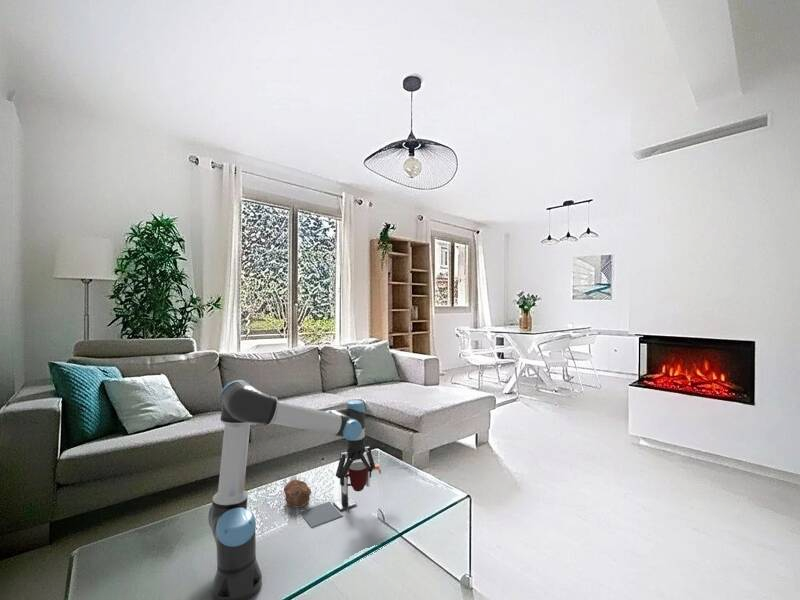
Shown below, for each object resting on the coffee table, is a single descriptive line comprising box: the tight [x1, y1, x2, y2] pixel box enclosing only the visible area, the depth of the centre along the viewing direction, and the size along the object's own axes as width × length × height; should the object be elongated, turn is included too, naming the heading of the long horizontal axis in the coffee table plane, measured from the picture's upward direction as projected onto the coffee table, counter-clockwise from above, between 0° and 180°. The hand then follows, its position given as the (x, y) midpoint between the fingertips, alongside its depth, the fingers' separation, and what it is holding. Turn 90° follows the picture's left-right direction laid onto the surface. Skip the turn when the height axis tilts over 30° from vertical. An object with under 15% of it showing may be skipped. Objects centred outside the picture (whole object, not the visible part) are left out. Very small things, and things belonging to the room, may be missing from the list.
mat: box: [299, 501, 343, 529], centre depth 168 cm, size 14×14×1 cm
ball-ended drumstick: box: [347, 463, 382, 475], centre depth 177 cm, size 4×19×4 cm, turn 101°
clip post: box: [332, 473, 358, 512], centre depth 175 cm, size 8×8×14 cm
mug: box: [345, 461, 368, 492], centre depth 165 cm, size 10×8×10 cm
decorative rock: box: [283, 478, 312, 508], centre depth 177 cm, size 13×11×10 cm
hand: (355, 489), depth 165 cm, fingers closed on mug, 10 cm apart
